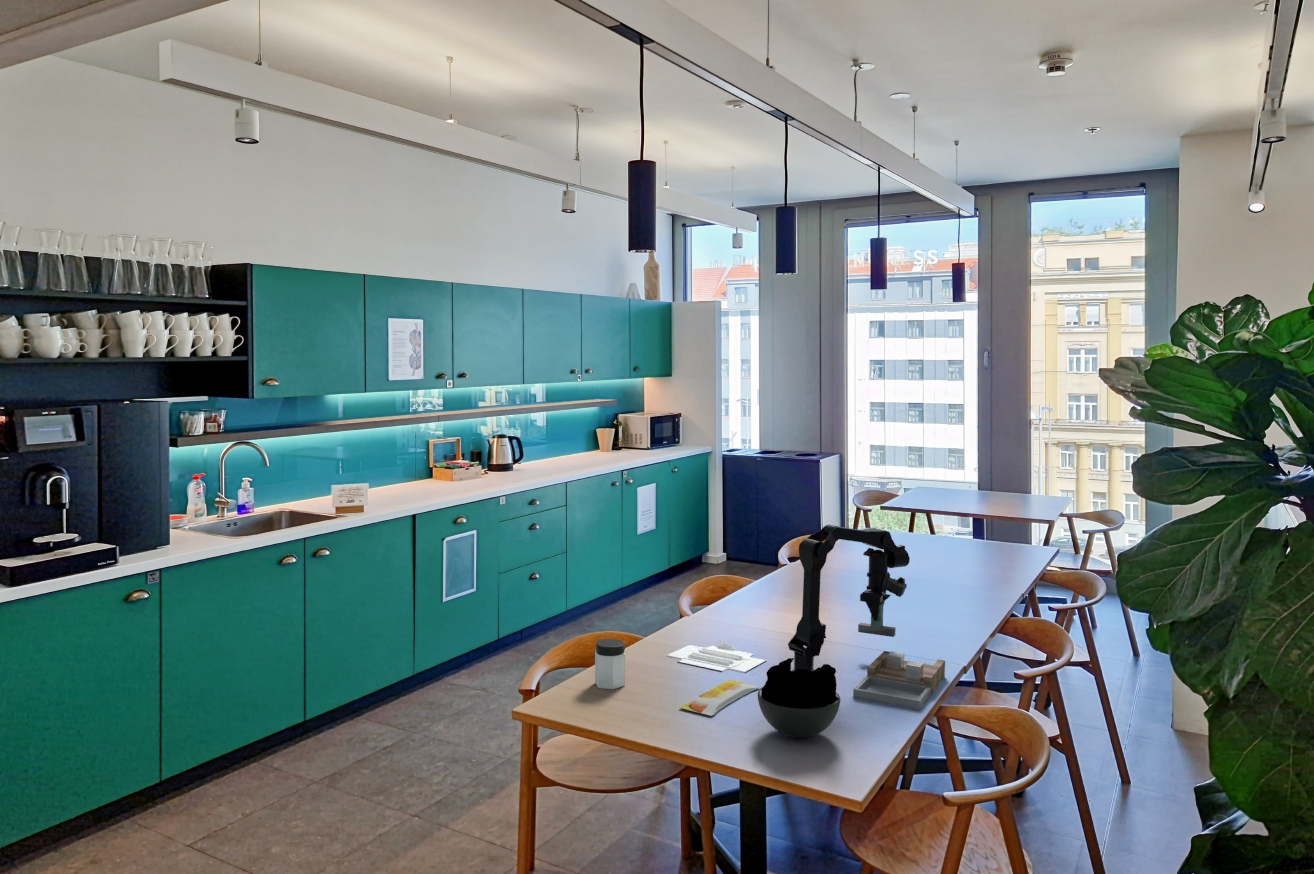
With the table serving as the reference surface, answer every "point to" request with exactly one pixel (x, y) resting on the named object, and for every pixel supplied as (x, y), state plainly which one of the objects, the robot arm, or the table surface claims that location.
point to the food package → (719, 697)
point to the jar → (610, 664)
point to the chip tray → (892, 692)
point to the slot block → (930, 672)
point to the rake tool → (877, 626)
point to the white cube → (895, 660)
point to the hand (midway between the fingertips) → (877, 619)
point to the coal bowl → (799, 699)
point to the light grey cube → (914, 671)
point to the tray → (717, 657)
